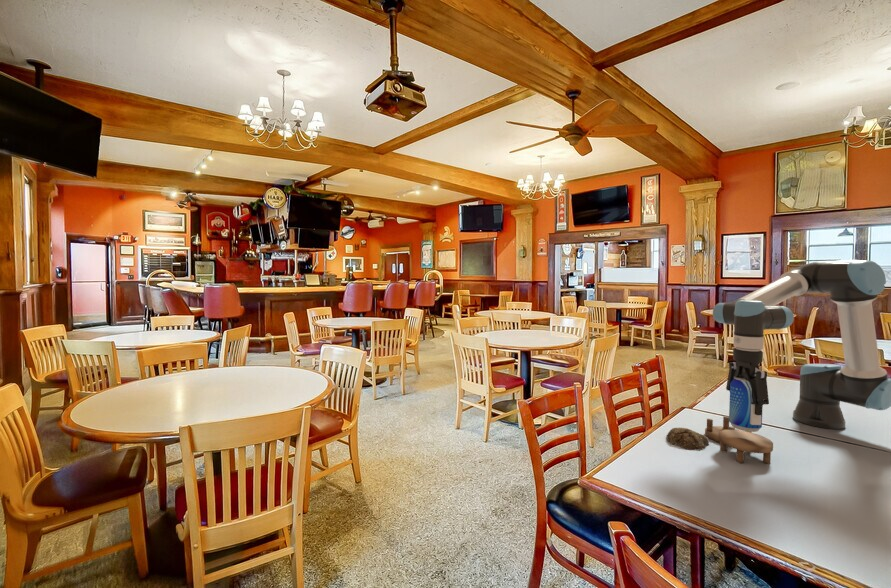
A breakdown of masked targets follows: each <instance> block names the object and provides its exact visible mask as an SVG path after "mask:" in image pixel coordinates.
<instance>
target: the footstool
mask: <svg viewBox="0 0 891 588" xmlns="http://www.w3.org/2000/svg"><path fill="white" fill-rule="evenodd" d="M718 439H719V441H720V443H719V445H720V446H719V451H720V452H723V453H724V452H725V453H727V450H728V449H727V448H728V447H729V448H732V449H735V450H736V462H737V463H738V464H744V461H745V452H747V453H751V454H752V453H753V454H762V462H763V463H764V464H768V465H769V464H771V457H772V455H771V454H772V452H773V451H774V442H773V441H772V439H769V438H768V437H766V436H763V435H760V434H758V433H756V432H752V433H751V432H746V431H743V430H739V429H737V430H722V431H720V432H719V433H718Z"/></svg>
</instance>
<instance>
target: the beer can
mask: <svg viewBox="0 0 891 588" xmlns="http://www.w3.org/2000/svg"><path fill="white" fill-rule="evenodd" d="M754 379H755V378H754ZM752 402H753V399H752V388H751V385H750V383H749V381H747V380H746V379H745V378H736V376H734V379H733V380H732V382H731V383H730V391H729V412H728V413H729V414H728V417H729V424H730V425H731V427H734V428H735V429H737V430H741V431H748V432H752V433H756V432H759V430H760V429H762V427H763V414H762V415H761V425H751V424H750V418H751V403H752Z"/></svg>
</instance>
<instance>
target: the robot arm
mask: <svg viewBox="0 0 891 588" xmlns="http://www.w3.org/2000/svg"><path fill="white" fill-rule="evenodd" d="M886 284H887V281H886V274H885V272H884V270H883V268H882V267H881V265H879V264H878V263H877V262H875V261H872V260H868V259H867V260H865V259H864V260H863V259H862V260H860V259H849V260H848V259H847V260H828V261H827V260H822V261H821V260H820V261H814V262H809V263H805V264H802V265H800V266H798V267H795V268H793V269H790V270H788V271H785V272H784V273H782V274H781V275H780V277H779V278H778V279H776V280H774V281H772V282H769V283H768V284H766V285H764V286H762V287H760V288H758V289H756V290H754V291H752V292H750V293H749V294H746V295H744V296H742V297H740V298H737V299H736V300H734V301H731V302H718V303H716V304H715V305H714V307H713V308H712V317H713V319H714V321H715V322H717V323H719V324H720V323H721V324H724V325H730V326H731V325H732V326H733V330H734V331H733V347H734V348H733V350H732V360H734V361H733V362H731V361H730V362H728V366H729V367H728V369H729V370H728V375H727V381H726V385H725V386H726V388H725V389H726V391H729V392H730V383H731V382H732V380H733V379H734V376H736V378H745V379H746V380H747V381H749V383H750V385H751V388H752V399H753V402H752V403H751V418H750V424H751V425H761V415H762V416H763V406H765V405H769V404H770V402H769V401H770V399H769V392H768V391H769V390H768V382H767V381H768V380H767V377H768V372H767V371H763V370H761V369H760V366H759V365H760V364H762V363H763V360H764V359H763V358H764V356H763V355H764V354H763V353H764V352H763V351H762V350H763V349H764V330H766V331H767V330H778V331H779V330H782V329H787V328H789V327H790V326H792V325H793V323H794V320H795V316H794V312H793V311H792V309H790V308H789V307H787V306H783V305H778V304H780V303H782V302H784V301H787V300H789V299H790V298H793V297H799V296H802V295H804V294H809V293H815V294H816V293H820V294H821V293H822V294H829V297H830V298H829V299H830V301H831V302H833V303H835V304H836V306H837V314H838V322H839V328H840V335H841V337H840V338H841V343H842V344H841V345H842V351H843V359H844V366H841V365H839V364H835V363H834V364H832V363H805V364H803V365H801V367H800V373H799V400H798V402H797V403H796V406H795V408H794V410H793V412H792V418H793V419H794V420H795V421H797V422H799V423H802V424H805V425H808V426H813V427H817V428H821V429H822V428H823V429H831V430H841V429H845V428H846V419H845V418H844V414H843V412H842V408H841V407H840V405H841V404H840V403H847V404H850V405H854V406H858V407H863V408H866V409H871V410H876V411H885V410H888V409H890V407H891V378H888V372H887V370H886V369H885V368H883V367H881V365H880V357H879V350H878V342H877V341H878V339H877V333H876V327H875V325H876V324H875V318H874V317H875V316H874V310H873V309H874V308H873V302H874V301H875V300H876V299H878V295H879V294H881V293H883V292H884V290H885V288H886V286H885V285H886ZM754 378H755V379H754Z"/></svg>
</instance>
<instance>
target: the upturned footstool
mask: <svg viewBox="0 0 891 588" xmlns="http://www.w3.org/2000/svg"><path fill="white" fill-rule="evenodd" d="M722 417H723V418H722V419H723V420H722V421H723V422H722V426H719V425H718V426H717V425H714V424H713V423H714V420H713V419H712V418H706V427H705V429H704V436H705V437H706V438H707V440H710V441H712V442H715V443H717V444H720V441H719V439H718V433H719V432H720V431H722V430H738V429H736V428H734V427H733V426H730V422H729V416H725V415H724V416H722ZM713 425H714V426H713ZM746 432H748V431H746ZM751 433H753V432H751Z"/></svg>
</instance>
